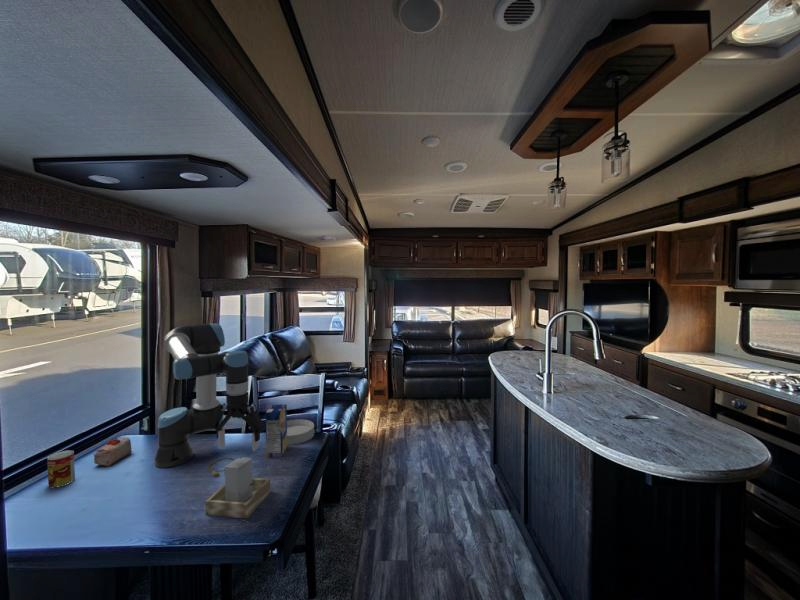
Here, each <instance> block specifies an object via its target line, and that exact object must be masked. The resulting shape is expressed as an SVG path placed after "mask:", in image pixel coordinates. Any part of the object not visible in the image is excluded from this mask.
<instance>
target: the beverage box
mask: <svg viewBox="0 0 800 600" xmlns="http://www.w3.org/2000/svg"><path fill="white" fill-rule="evenodd" d="M287 406H288V405H287V404H272V405H271V406H270V407H269V408H268V409H267V410H266V412H265V436H266V437H265V439H266V441H265V442H266V451H265V452H266V459H272V458H282V457H283V455H284V453H285V451H286V449H287V447H288V445H287V421H288V415H287V411H288V409H287Z"/></svg>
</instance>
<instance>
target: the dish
mask: <svg viewBox="0 0 800 600" xmlns="http://www.w3.org/2000/svg"><path fill="white" fill-rule="evenodd" d="M314 433H315V424H314V422H313V421H311V420H308V419H300V418H299V419H290V420H287V446H289V445H292V446H293V445H297V444H302V443H305V442H307V441H309V440H311V439H312V438H313V437H314V436H315V434H314Z"/></svg>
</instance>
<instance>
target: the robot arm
mask: <svg viewBox="0 0 800 600" xmlns="http://www.w3.org/2000/svg"><path fill="white" fill-rule="evenodd" d="M225 339H226V338H225V333H224V330H223V328H222V326H221V325H220V324H219V323H217V322H216V323H209V322H208V323H200V324H199V323H197V324H185V325H179V326H177V327H175V328H172V330H170V331H169V332H167V334H166V335H165V336H164V338H163V347H164V349H165V350H166V351H167V352H168V353H170V354H171V356H172V358H173V360H174V361H173V362H172V373H173V377H174V379H176V380H189V379H194V378H196V379H195V380H196V381H195V384H196V385H195V386H196V387H195V388H196V390H195V391H196V395H195V396H196V398H195V402H194V403H193V404H192V408H191V409H188V408H187V407H185V406H181V407H174V408H171V409H169V410H166V411H165V412H163V413H162V414H160V415H159V417H158V419H157V420H158V422H157V428H158V429H157V430H158V447H157V452H156V455H155V458H154V466H155V467H156V468H160V469H165V468H168V469H169V468H174V467H177V466H180V465H182V464H185V463H187V462H188V461H190V460H191V459H192V458H193V457H194V450H193V448H192V447H191V444H190V442H189V436H190V435H194V434H199V433H201V432H205V431H209V430H210V431H212V430H215V431H216V439H218V449H222V448H223V447H225V446H226V431H225V430H226V429H225V428H224V427H225V425H226V424H227V423H228V422H229V420H230V419H235V418H237V419H241V420H244V422H245V423H246V424H247V425H248V427H249V428H250V429H251V430H252V432H253V433H251V445H252V446H251V449H252V450H251V451H252V452H255V451H256V450H257V449H259V441H260V439H261V433H262V432H263V431H265V430H266V426H265V424H264V423H263V420H262V418H261V416H260V414H259V412H258V409H257V408H258V407H257V405H256V404H254V405H250V406H249V392H248V391H249V356H248V352H247V351H245V350H233V351H232V350H231V351H222V352H221V348H222V347H225V344H226V340H225ZM218 374H225V388H226V389H225V390H226V391H225V394H226V395H225V398H226V399H225V400H226V401H225V403H221V402H220V400H218V399H217V375H218ZM226 411H227V413H226V415H225V417H224V414H225V412H226Z"/></svg>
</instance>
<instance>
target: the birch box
mask: <svg viewBox="0 0 800 600" xmlns="http://www.w3.org/2000/svg"><path fill="white" fill-rule="evenodd" d="M252 483H253V496H252V497H250V498H249V499H248V500H246V501H245V502H244V503H243V502H231V501H226V497H225V483H224V484H223V485H222V486H221V487H219V489H218V490H216V491H215V492H214V493H213V494H211V496H210V497H209V498H208V499H206V500H205V515H206V516H215V517H224V518H225V517H226V518H238V519H248V518H249V517H250V516H251V515H252V514H253V513H254V512H255V510H256V509H257V508H258V507H259V506H260V504H261V503H262V502H263V501H264V499H266V498H267V496H268V495H269V494H270V493H271V478H270V479H269V478H257V477H252Z"/></svg>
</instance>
